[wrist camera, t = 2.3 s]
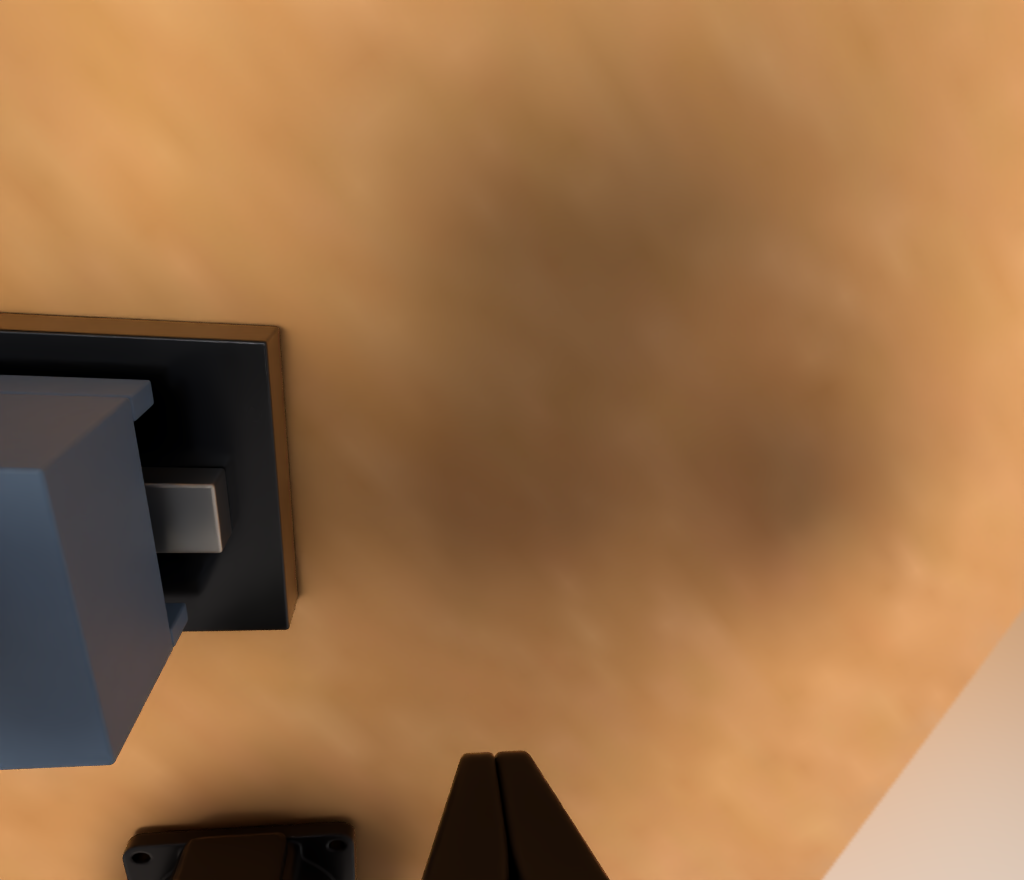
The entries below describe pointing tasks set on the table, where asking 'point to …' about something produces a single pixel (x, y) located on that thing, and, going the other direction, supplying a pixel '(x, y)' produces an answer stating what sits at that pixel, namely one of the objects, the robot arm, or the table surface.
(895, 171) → the table surface
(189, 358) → the rail
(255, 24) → the table surface
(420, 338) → the table surface
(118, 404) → the blue cube with peg
